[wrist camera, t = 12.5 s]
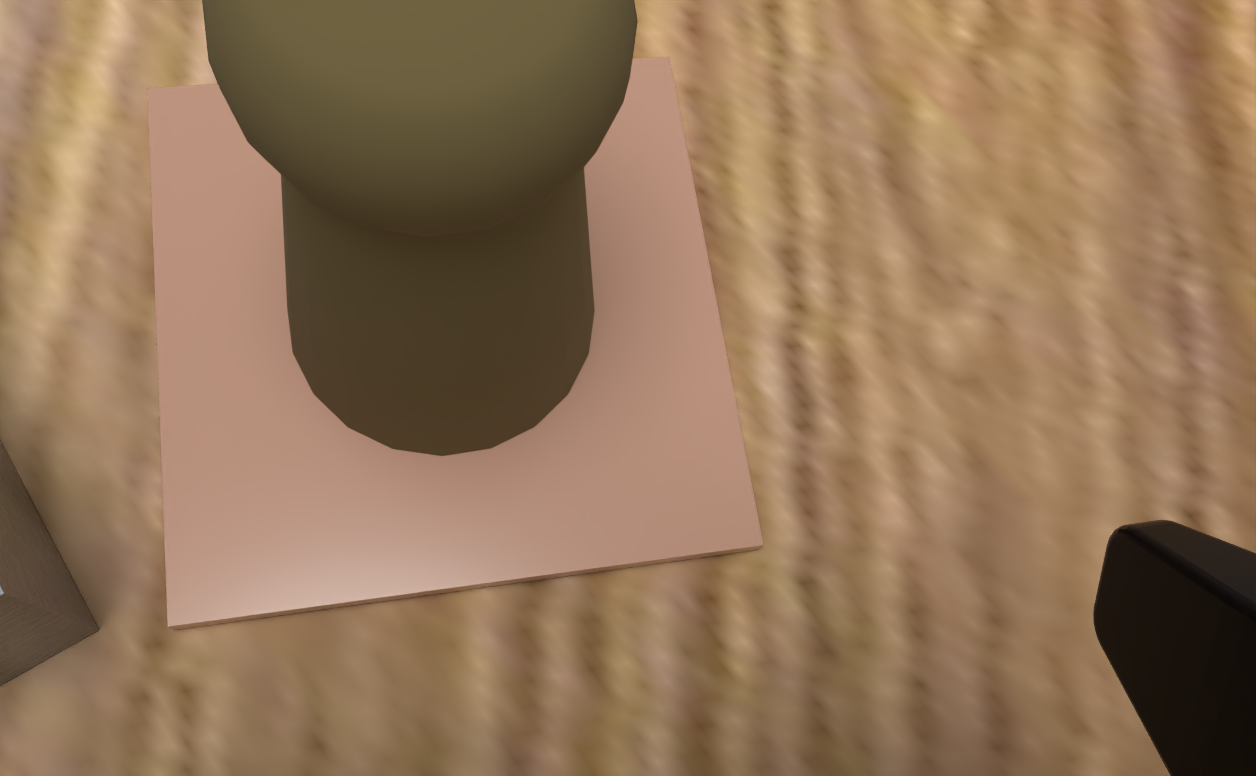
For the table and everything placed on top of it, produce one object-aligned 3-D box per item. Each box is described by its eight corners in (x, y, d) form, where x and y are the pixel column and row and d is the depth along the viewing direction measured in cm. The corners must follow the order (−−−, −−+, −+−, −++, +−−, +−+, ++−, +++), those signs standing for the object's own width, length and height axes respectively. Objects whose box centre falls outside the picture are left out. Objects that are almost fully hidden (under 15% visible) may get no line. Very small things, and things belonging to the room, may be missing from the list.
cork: (599, 454, 22) (710, 180, 12) (278, 457, 22) (101, 164, 11) (589, 177, 24) (676, -266, 14) (294, 170, 23) (155, -307, 13)
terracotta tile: (757, 549, 23) (763, 545, 22) (174, 630, 21) (167, 626, 20) (665, 69, 26) (669, 56, 26) (153, 101, 24) (147, 88, 24)
